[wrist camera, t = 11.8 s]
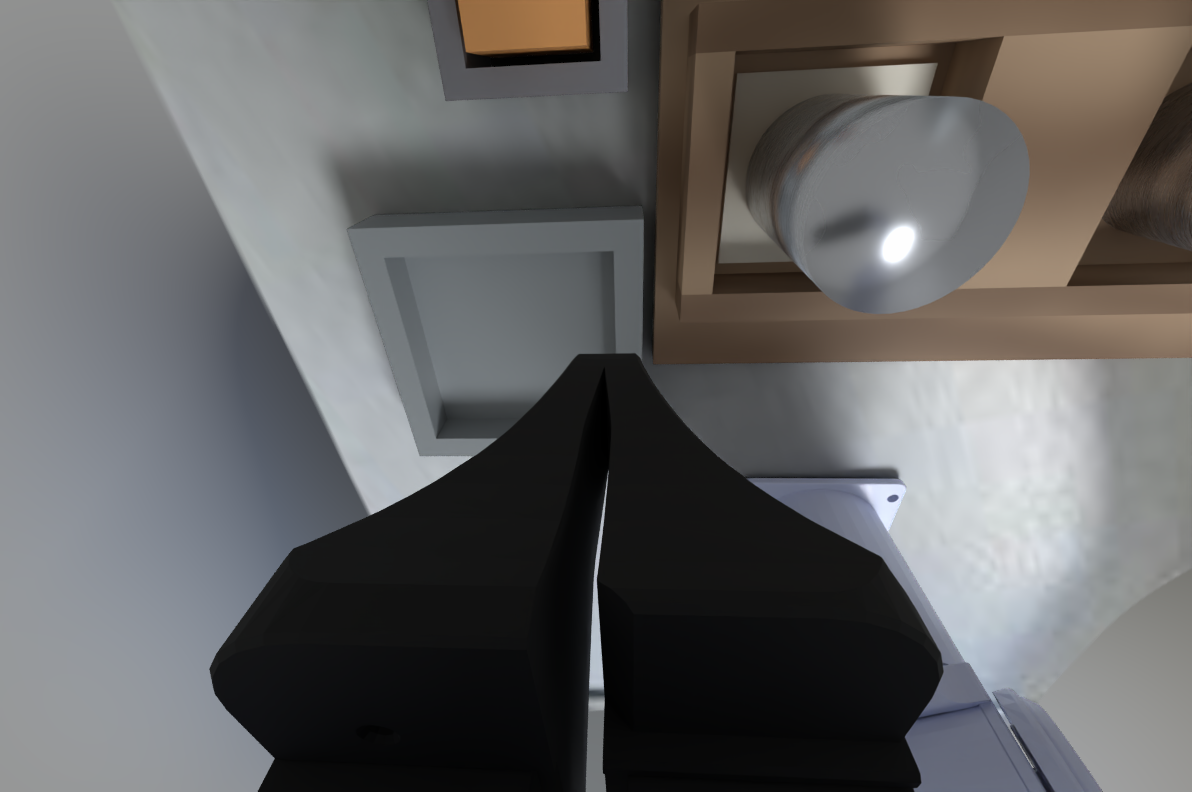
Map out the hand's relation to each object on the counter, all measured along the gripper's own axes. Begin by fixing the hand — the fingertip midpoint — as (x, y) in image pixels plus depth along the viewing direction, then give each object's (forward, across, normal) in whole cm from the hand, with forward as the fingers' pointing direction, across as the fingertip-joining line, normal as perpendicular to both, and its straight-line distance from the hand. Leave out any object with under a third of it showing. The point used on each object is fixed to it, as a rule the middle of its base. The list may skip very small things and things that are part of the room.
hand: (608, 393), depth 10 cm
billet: (+8, -6, -3) cm, 11 cm away
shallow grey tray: (+9, +4, +3) cm, 11 cm away
